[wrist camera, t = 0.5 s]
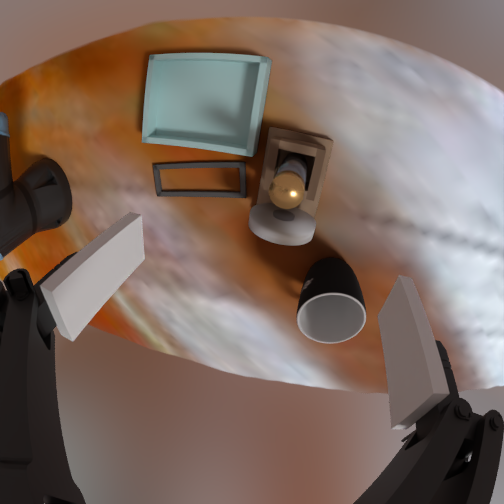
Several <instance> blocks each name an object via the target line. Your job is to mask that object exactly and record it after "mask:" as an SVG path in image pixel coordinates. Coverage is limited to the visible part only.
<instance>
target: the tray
mask: <svg viewBox="0 0 504 504" xmlns="http://www.w3.org/2000/svg"><path fill="white" fill-rule="evenodd" d="M271 64H272V61H271V60H270V59H269V58H268V57H263V56H253V55H242V54H226V53H172V54H156V55H150V56H149V63H148V71H147V79H146V89H145V99H144V112H143V128H142V142H143V143H155V144H165V145H175V146H183V147H191V148H199V149H206V150H213V151H220V152H226V153H232V154H238V155H244V156H250V157H253V156H254V155H255V154H256V153H257V149H258V143H259V137H260V130H261V124H262V118H263V112H264V106H265V100H266V94H267V88H268V82H269V76H270V70H271Z"/></svg>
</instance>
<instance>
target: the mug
mask: <svg viewBox="0 0 504 504" xmlns="http://www.w3.org/2000/svg"><path fill="white" fill-rule="evenodd" d="M365 321H366V308H365V303H364V299H363V295H362V291H361V288H360V285H359V282H358V280H357V278H356V275H355V273H354V272H353V270H352V269H351V267H350V266H349V265H348V264H347V263H346V262H344V261H343V260H340V259H338V258H325V259H322V260H320V261H318V262H316V263H315V264H314V265H313V266H312V267H311V268H310V270H309V272H308V274H307V276H306V278H305V281H304V284H303V287H302V290H301V294H300V299H299V303H298V309H297V324H298V327H299V329H300V330H301V332H302V333H303V334H304V335H305V336H307V337H308V338H310V339H312V340H314V341H317V342H321V343H339V342H343V341H346V340H348V339H350V338H352V337H354V336H355V335H356V334H358V333H359V332H360V330H361V329H362V328H363V326H364V324H365Z"/></svg>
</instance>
